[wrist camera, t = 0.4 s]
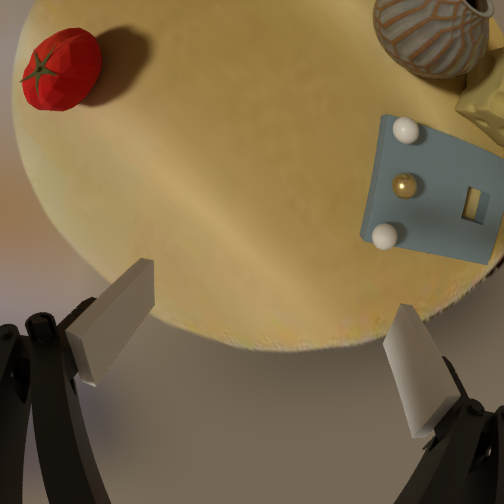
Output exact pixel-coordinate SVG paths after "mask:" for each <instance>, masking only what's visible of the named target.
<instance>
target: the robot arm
mask: <svg viewBox="0 0 504 504" xmlns="http://www.w3.org/2000/svg"><path fill="white" fill-rule="evenodd" d="M154 305H155V298H154V261H153V260H149V259H144V258H140V259H139V260H138V261H137V262H136V263H135V264H134V265H132V266H131V267H130V268H129V269H128V270H127V271H126V272H125V273H124V274H123V275H122V276H120V277H119V278H118V279H117V280H116V281H115V282H114V283H113V284H112V285H111V286H110V287H109V288H108V289H107V290H106V291H105V292H104V293H102V294H101V295H100V296H99V298H93V297H91V298H89V299H87V300H85V301H82V302H81V303H80V304H79V305H78V306H77V307H76V309H74V310H73V311H72V312H71V314H69V315H68V316H67V317H66V318H65V319H64V320H62V322H61V323H59V324H58V325H57V326H56V322H55V319H54V316H52V315H51V314H49V313H46V312H40V313H36V314H34V315H32V316H30V317H29V318H28V319H27V321H26V323H25V327H26V329H27V332H28V335H29V336H24V335H20V333H19V331H18V328H17V327H16V326H15V325H13V324H4V325H2V326H0V504H22V481H23V463H24V452H25V442H26V434H27V426H28V420H29V414H30V407H31V403H32V414H33V423H34V432H35V439H36V446H37V452H38V458H39V463H40V468H41V473H42V477H43V481H44V485H45V489H46V493H47V497H48V500H49V504H111V502H110V499H109V497H108V494H107V492H106V490H105V487H104V484H103V482H102V479H101V477H100V473H99V471H98V468H97V465H96V462H95V459H94V456H93V453H92V449H91V446H90V443H89V439H88V435H87V432H86V428H85V425H84V420H83V416H82V412H81V408H80V404H79V398H78V393H77V389H76V383H75V380H74V376H75V375H76V374H77V372H78V373H79V375H80V378H81V381H83V382H85V383H88V384H90V385H93V386H95V387H96V386H97V385H98V384H99V382H100V381H101V379H102V378H103V376H104V375H105V373H106V372H107V370H108V369H109V367H110V366H111V365H112V363H113V362H114V360H115V359H116V358H117V356H118V354H119V353H120V352H121V350H122V349H123V347H124V346H125V345H126V343H127V342H128V341H129V339H130V338H131V336H132V335H133V334H134V332H135V331H136V329H137V328H138V327H139V325H140V324H141V323H142V321H143V320H144V318H145V317H146V316H147V314H148V313H149V312H150V310H151V309H152V308H153V306H154ZM383 346H384V348H385V351H386V354H387V357H388V360H389V363H390V366H391V369H392V372H393V374H394V378H395V381H396V384H397V387H398V390H399V394H400V397H401V400H402V403H403V407H404V410H405V414H406V417H407V421H408V424H409V428H410V432H411V435H412V438H421V437H426V436H427V435H428V434H429V433H430V432H431V431H432V430H433V429H434V431H435V434H436V435H435V436H434V437H433V438H432V439H431V440H430V441H429V442H428V443H427V444H426V445H425V446H424V448H423V450H424V449H426V448H427V449H426V451H425V453H424V455H423V457H422V459H421V460H420V462H419V464H418V466H417V467H416V469H415V471H414V473H413V474H412V476H411V478H410V480H409V481H408V483H407V484H406V486H405V487H404V489H403V491H402V492H401V493H400V495H399V497H398V498H397V499H396V501H395V502H394V504H504V406H500V407H499V408H498V409H497V410H496V412H495V413H492V412H487V411H485V409H484V407H483V406H482V404H481V403H480V402H478V401H477V400H475V399H469V397H468V395H467V393H466V391H465V389H464V387H463V385H462V383H461V381H460V379H458V375H457V373H455V369H454V367H453V366H452V364H451V363H450V361H448V359H446V357H444V356H441V355H440V353H439V351H438V349H437V347H436V345H435V343H434V342H433V340H432V338H431V336H430V334H429V333H428V331H427V329H426V327H425V326H424V324H423V322H422V321H421V319H420V317H419V315H418V314H417V312H416V310H415V309H414V307H413V306H412V305H406V304H400V307H399V309H398V311H397V314H396V316H395V318H394V321H393V323H392V325H391V328H390V330H389V332H388V334H387V336H386V338H385V340H384V343H383ZM490 449H491V453H490V455H489V450H490Z"/></svg>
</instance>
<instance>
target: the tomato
mask: <svg viewBox="0 0 504 504" xmlns="http://www.w3.org/2000/svg"><path fill="white" fill-rule="evenodd" d="M101 66H102V56H101V50H100V47H99V45H98V43H97V41H96V39H95V37H94V36H93V35H92V34H90V33H89V32H87V31H85V30H83V29H81V28H68V29H65V30H62V31H59V32H57V33H56V34H54V35H52V36H51V37H49V38H47V39H46V40H44V41H43V42H42V43H41V44H40V45H39V46H38V47H37V48H36V49H35V50H34V51H33V53H32V56H31V59H30V62H29V64H28V66H27V67H26V69H25V70H24V74H23V79H22V80H21V81H20V82H22V86H23V92H24V95H25V97H26V99H27V102H28V103H29V104H31V105H32V106H33V107H35V108H36V109H38V110H50V111H66V110H68V109H71V108H73V107H75V106H76V105H78V104H79V103H80V102H81V101H82V100H83V99H84V98H85V97H86V96H87V95H88V94H89V92H90V91H91V89H92V87H93V86H94V84H95V82H96V80H97V78H98V76H99V74H100V72H101ZM20 82H19V83H20Z"/></svg>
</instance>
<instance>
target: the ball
mask: <svg viewBox="0 0 504 504" xmlns="http://www.w3.org/2000/svg"><path fill="white" fill-rule="evenodd" d="M391 188H392V191H393V193H394V194H395V196H397V197H398V198H400V199H403V200H407V199H410V198H412V197H413V196H414V195H415V193H416V191H417V183H416V180H415V179H414V177H413V176H412V175H410V174H409V173H405V172H402V173H398V174H397V175H395V176H394V178H393V180H392V183H391Z"/></svg>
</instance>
